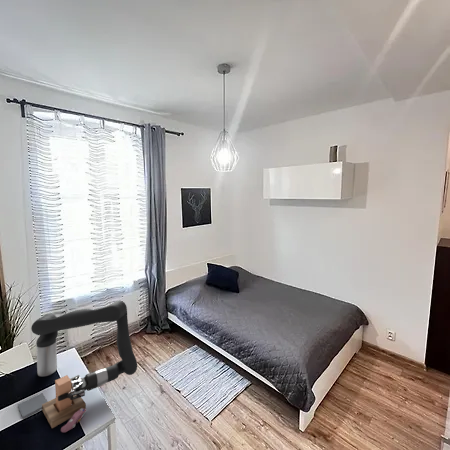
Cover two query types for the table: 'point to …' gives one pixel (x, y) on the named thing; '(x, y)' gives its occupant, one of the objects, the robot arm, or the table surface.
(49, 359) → the robot arm
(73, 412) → the walnut pocket block
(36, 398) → the slate pad
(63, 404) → the terracotta block
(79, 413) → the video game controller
